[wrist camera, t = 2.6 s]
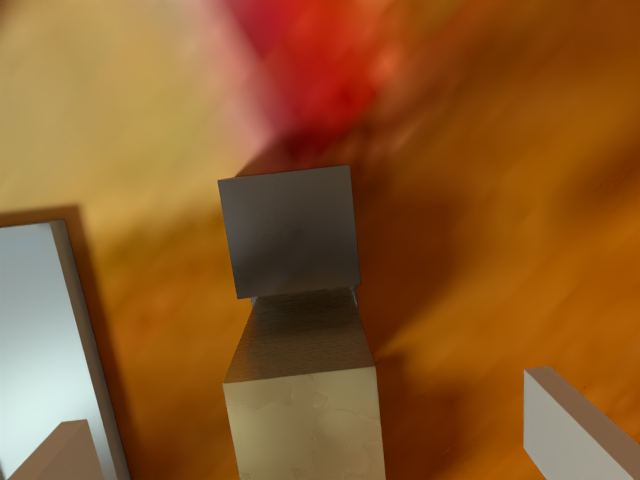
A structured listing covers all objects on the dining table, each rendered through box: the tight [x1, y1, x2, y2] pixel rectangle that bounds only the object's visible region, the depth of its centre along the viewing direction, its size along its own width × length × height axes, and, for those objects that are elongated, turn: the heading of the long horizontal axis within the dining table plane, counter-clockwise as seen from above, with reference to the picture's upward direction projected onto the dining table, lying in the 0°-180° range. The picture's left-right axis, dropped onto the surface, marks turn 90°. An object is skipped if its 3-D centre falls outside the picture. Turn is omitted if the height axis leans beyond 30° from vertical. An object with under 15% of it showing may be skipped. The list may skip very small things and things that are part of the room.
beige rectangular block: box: [222, 288, 386, 480], centre depth 15 cm, size 4×4×7 cm
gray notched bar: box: [218, 165, 361, 310], centre depth 18 cm, size 26×5×3 cm, turn 7°
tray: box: [0, 219, 131, 480], centre depth 19 cm, size 18×7×1 cm, turn 7°
